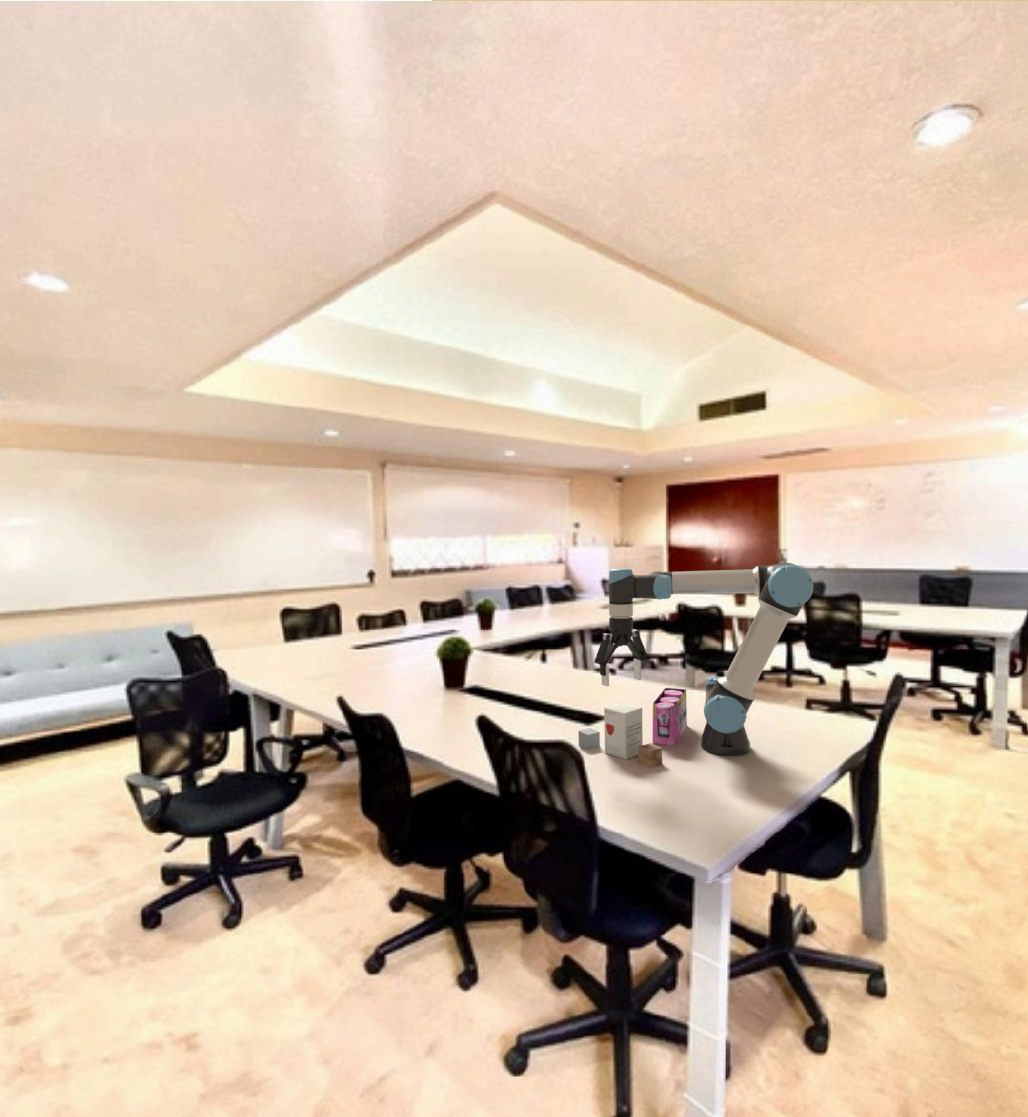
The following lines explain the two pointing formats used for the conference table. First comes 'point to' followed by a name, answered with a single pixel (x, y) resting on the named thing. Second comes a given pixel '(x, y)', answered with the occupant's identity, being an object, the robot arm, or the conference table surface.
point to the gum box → (669, 716)
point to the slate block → (589, 738)
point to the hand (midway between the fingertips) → (621, 682)
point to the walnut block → (650, 755)
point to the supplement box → (623, 730)
